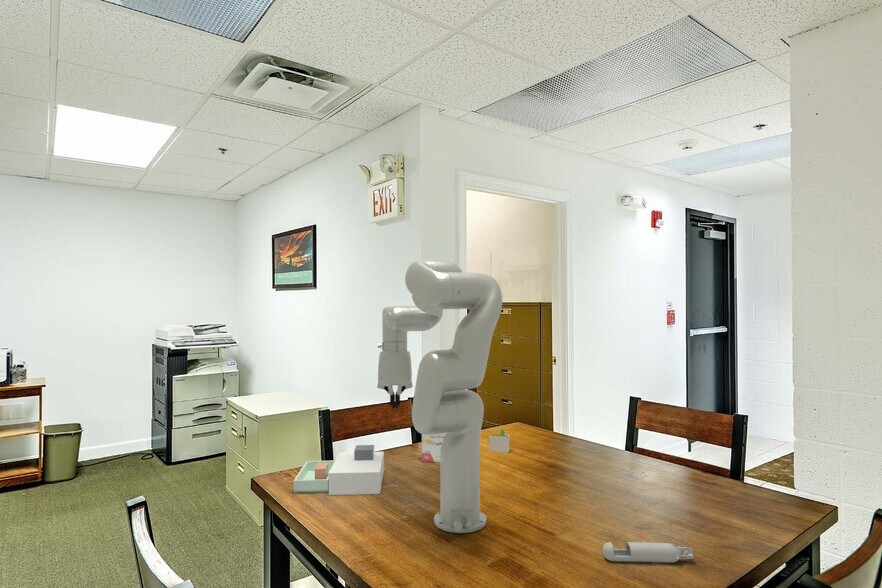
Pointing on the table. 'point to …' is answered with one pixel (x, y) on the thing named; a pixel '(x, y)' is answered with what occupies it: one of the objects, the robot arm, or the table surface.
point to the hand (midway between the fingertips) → (395, 407)
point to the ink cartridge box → (431, 447)
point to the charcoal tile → (364, 452)
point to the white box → (356, 475)
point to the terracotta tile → (321, 471)
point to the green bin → (311, 479)
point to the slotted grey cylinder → (647, 552)
